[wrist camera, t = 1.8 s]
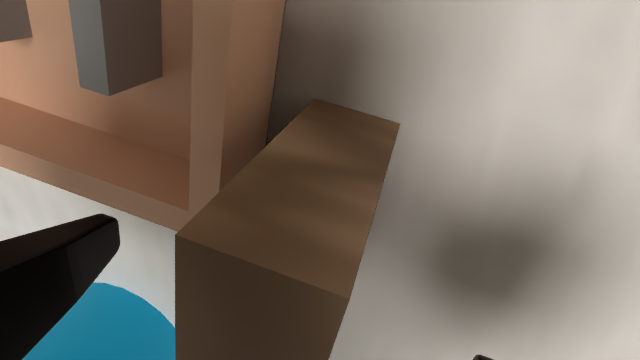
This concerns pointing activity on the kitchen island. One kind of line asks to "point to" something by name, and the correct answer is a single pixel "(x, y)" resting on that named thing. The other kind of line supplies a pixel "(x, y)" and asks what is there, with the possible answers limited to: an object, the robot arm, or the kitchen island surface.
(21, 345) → the robot arm
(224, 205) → the wooden rectangular block
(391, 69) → the kitchen island surface
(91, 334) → the mug
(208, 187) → the shallow wooden tray
